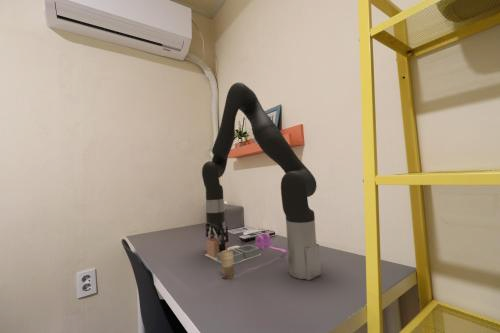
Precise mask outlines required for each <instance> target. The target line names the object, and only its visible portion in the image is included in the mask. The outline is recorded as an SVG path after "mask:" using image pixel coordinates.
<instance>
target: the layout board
mask: <svg viewBox="0 0 500 333" xmlns="http://www.w3.org/2000/svg"><path fill="white" fill-rule="evenodd" d="M227 250H232V251H233V263H234V265H235V264H239V263H242V262H244V261H246V260H249V259H253V258H256V257H258V256H261V255H262V254H261V251H260V250H261V249H260V248H258V247H256V245H255V246H254V245H252V244H250V243H249V244H245V245H241V246H240V245H233V246H229V247H227ZM204 256H206V257H208V258H210V259H212V260H214V261H216V262H217V263H220V264H221V252H220V253H217V257H216V258H214V257H212V256H210V255H208V254H207V253H206V254H204Z"/></svg>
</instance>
